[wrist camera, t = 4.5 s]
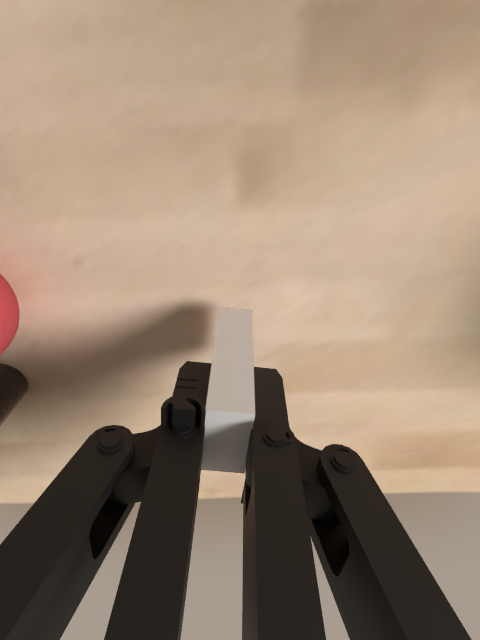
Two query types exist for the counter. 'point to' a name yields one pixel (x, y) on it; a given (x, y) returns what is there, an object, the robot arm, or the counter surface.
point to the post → (10, 389)
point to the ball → (7, 314)
